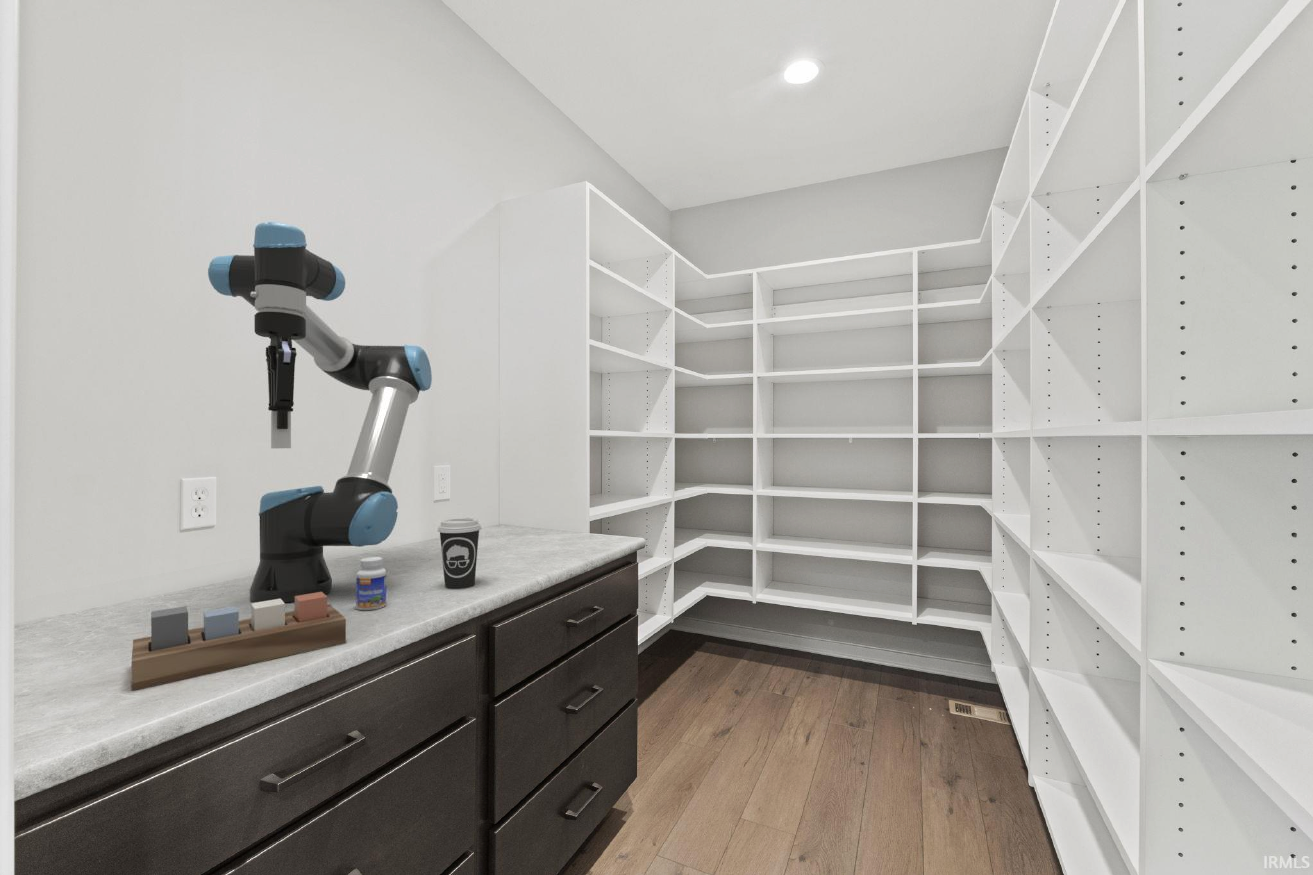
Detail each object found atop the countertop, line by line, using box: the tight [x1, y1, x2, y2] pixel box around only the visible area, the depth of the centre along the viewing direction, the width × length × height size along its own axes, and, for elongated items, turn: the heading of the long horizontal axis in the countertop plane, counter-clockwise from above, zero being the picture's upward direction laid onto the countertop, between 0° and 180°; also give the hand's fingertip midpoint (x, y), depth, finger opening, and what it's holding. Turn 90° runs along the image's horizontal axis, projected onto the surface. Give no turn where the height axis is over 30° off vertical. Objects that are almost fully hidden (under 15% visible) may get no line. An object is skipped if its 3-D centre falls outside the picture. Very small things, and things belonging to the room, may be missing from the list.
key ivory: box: [250, 599, 286, 632], centre depth 90 cm, size 4×4×5 cm
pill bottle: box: [355, 556, 387, 611], centre depth 113 cm, size 5×5×10 cm
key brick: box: [294, 592, 328, 623], centre depth 94 cm, size 4×4×5 cm
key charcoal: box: [150, 605, 189, 651], centre depth 82 cm, size 4×4×5 cm
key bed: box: [131, 603, 347, 692], centre depth 88 cm, size 11×26×4 cm, turn 132°
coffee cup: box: [437, 517, 482, 590], centre depth 129 cm, size 10×10×15 cm
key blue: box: [203, 605, 240, 641], centre depth 86 cm, size 4×4×5 cm
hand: (281, 448), depth 98 cm, fingers closed
